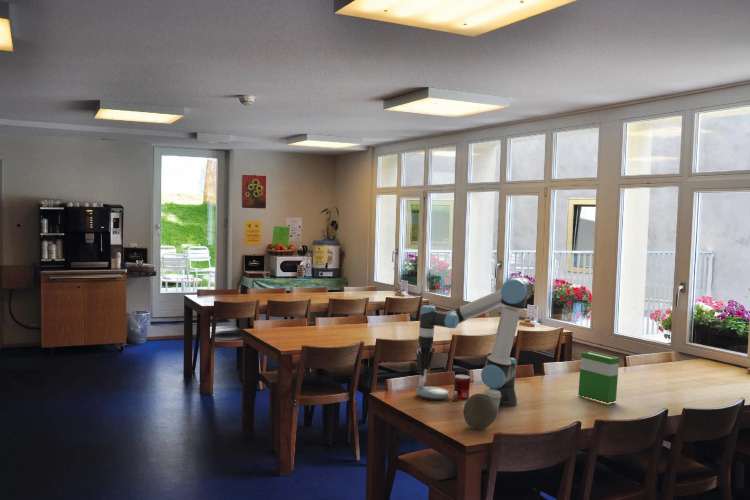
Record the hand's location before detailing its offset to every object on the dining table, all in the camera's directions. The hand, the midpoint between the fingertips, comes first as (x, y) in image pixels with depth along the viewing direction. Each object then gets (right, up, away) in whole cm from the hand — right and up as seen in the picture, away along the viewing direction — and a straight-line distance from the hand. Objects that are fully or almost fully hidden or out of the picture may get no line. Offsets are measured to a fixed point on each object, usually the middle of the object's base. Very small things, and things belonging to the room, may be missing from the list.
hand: (422, 381), depth 330 cm
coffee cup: (+29, -10, -32) cm, 44 cm away
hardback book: (+93, -12, +11) cm, 94 cm away
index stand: (+7, -7, -8) cm, 13 cm away
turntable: (+5, -5, -6) cm, 9 cm away
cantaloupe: (+21, -10, -50) cm, 56 cm away
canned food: (+19, -8, -2) cm, 21 cm away
